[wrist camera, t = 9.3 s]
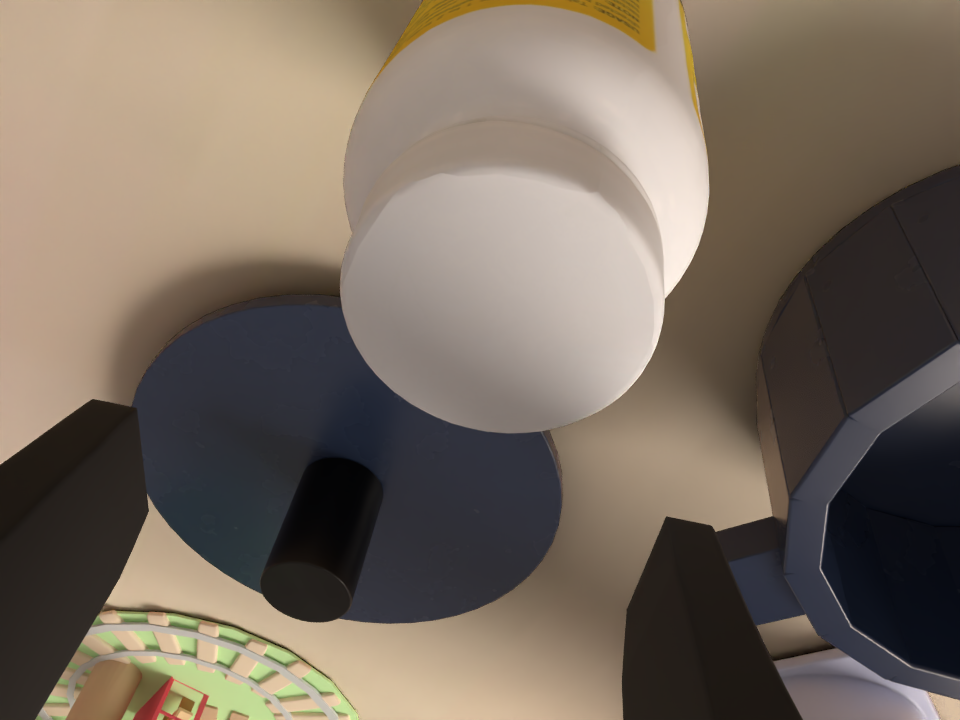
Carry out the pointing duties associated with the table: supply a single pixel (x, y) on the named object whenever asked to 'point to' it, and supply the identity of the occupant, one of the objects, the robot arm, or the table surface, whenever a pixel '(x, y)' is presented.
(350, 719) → the toy tree on disc
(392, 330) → the supplement bottle
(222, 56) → the table surface
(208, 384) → the pot lid
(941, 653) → the pot
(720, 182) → the table surface
